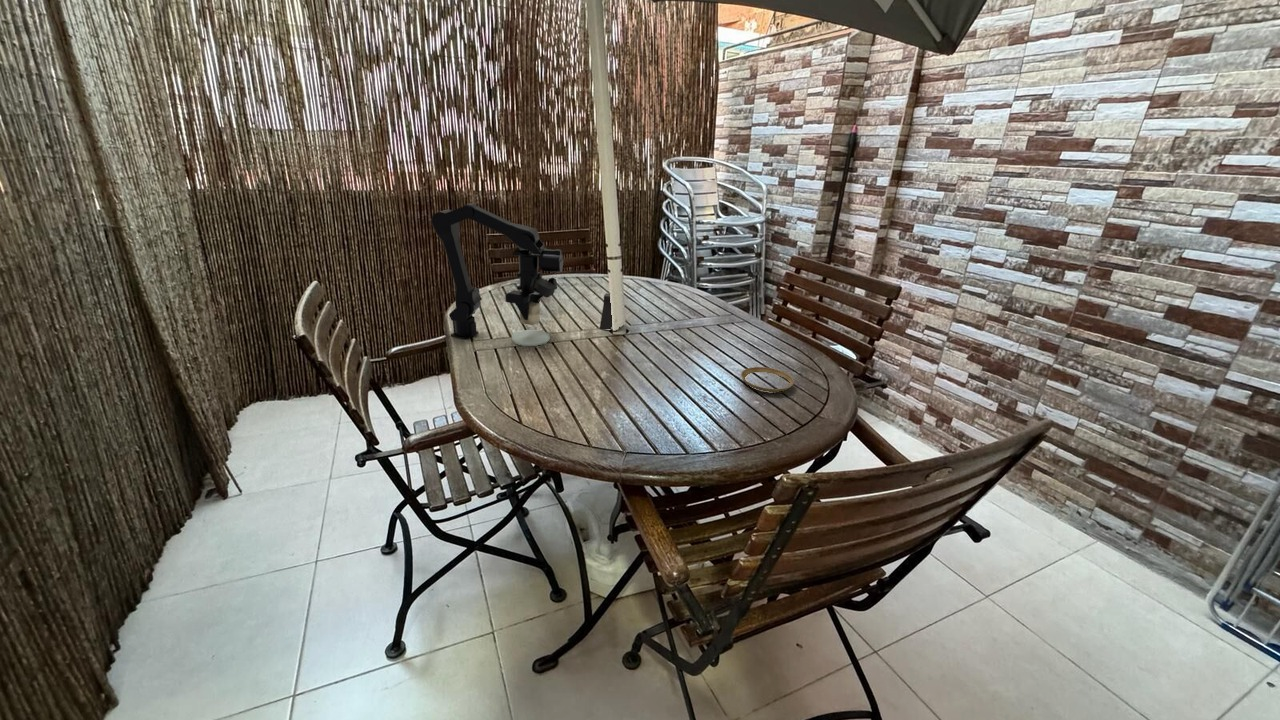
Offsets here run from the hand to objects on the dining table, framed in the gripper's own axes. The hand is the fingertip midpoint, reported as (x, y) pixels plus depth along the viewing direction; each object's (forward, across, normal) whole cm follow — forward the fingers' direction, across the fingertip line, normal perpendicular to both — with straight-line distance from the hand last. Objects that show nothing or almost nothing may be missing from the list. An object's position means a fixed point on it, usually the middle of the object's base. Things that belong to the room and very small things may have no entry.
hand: (529, 317), depth 165 cm
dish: (+8, 0, 0) cm, 8 cm away
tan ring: (+8, 0, -76) cm, 76 cm away
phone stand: (+8, +24, -19) cm, 32 cm away
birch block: (+2, 0, 0) cm, 2 cm away
